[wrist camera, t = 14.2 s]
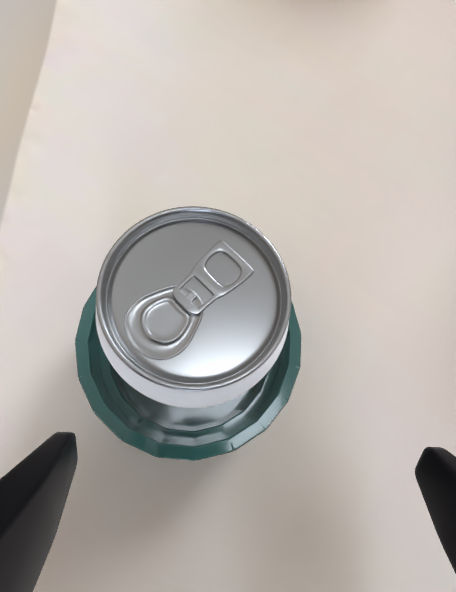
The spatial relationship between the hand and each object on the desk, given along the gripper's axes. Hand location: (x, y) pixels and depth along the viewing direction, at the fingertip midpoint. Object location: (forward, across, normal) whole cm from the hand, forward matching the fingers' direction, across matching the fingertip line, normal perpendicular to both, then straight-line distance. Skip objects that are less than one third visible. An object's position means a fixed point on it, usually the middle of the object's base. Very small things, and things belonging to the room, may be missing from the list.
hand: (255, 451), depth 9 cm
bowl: (+12, +2, +5) cm, 13 cm away
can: (+12, +2, +5) cm, 13 cm away
